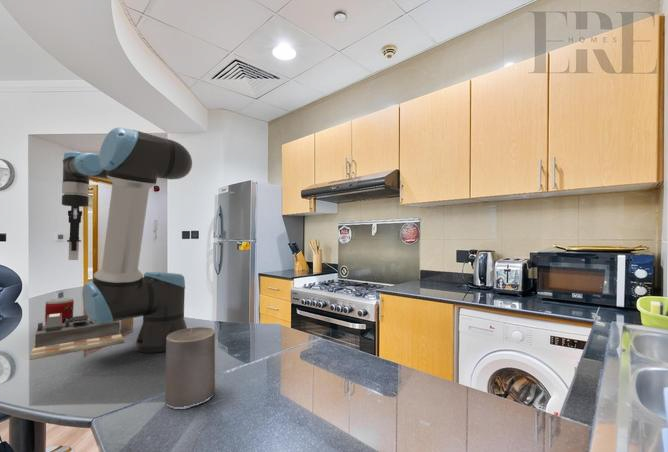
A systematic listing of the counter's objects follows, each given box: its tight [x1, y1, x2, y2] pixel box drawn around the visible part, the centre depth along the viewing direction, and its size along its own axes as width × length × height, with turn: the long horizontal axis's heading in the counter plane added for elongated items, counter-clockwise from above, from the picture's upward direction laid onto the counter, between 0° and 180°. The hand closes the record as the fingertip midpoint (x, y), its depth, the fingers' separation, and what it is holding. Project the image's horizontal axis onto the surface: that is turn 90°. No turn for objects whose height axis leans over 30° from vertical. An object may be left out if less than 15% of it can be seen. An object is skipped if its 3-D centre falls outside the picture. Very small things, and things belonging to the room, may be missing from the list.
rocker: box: [46, 313, 62, 331], centre depth 100 cm, size 9×4×1 cm, turn 40°
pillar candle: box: [164, 326, 216, 407], centre depth 67 cm, size 10×10×15 cm
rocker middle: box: [73, 314, 89, 322], centre depth 105 cm, size 9×4×1 cm, turn 41°
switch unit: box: [29, 319, 125, 360], centre depth 102 cm, size 18×22×7 cm
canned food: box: [44, 297, 75, 326], centre depth 117 cm, size 8×8×11 cm
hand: (73, 259), depth 113 cm, fingers closed
